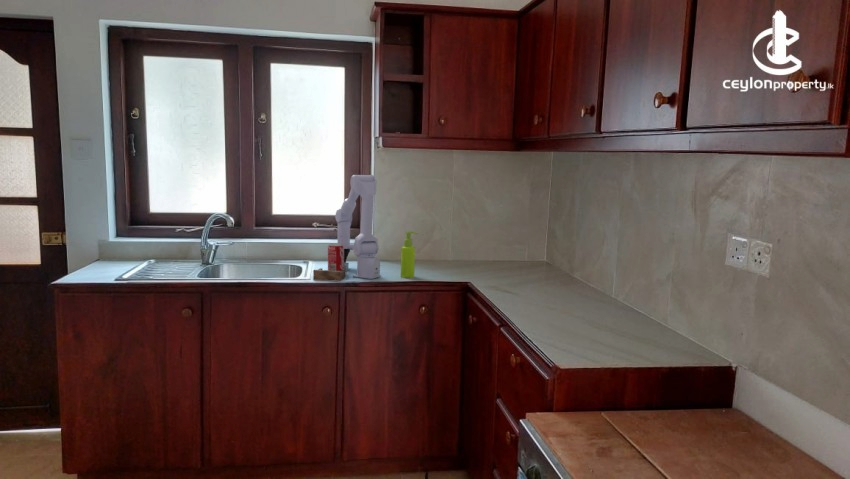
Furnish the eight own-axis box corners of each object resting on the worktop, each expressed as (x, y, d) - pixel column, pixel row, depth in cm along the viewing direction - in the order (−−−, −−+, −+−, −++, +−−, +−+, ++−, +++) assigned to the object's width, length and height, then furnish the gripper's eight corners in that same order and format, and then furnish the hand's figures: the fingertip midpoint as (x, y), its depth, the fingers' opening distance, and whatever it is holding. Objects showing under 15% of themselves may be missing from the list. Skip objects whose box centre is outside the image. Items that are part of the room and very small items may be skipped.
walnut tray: (345, 276, 255) (345, 267, 254) (339, 280, 245) (340, 271, 245) (319, 275, 256) (319, 266, 256) (313, 279, 247) (313, 270, 246)
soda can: (342, 275, 257) (342, 245, 256) (326, 274, 257) (326, 245, 256) (345, 272, 264) (345, 243, 263) (329, 271, 264) (329, 243, 263)
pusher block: (335, 268, 273) (335, 262, 272) (348, 269, 273) (348, 262, 272) (332, 271, 266) (332, 264, 266) (345, 272, 266) (345, 265, 265)
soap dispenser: (416, 278, 255) (417, 232, 252) (400, 278, 255) (401, 232, 252) (416, 275, 261) (417, 231, 258) (401, 275, 261) (402, 230, 258)
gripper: (361, 235, 276) (360, 264, 278) (330, 234, 277) (330, 262, 279) (357, 237, 269) (357, 266, 271) (326, 236, 270) (326, 265, 272)
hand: (343, 264), depth 274 cm, fingers closed
